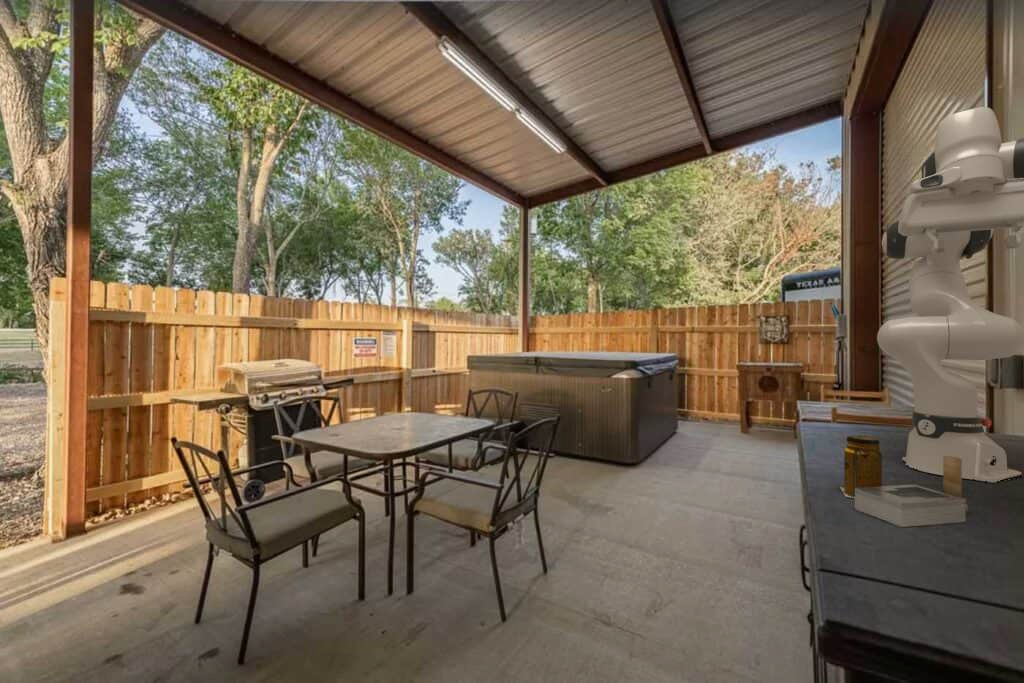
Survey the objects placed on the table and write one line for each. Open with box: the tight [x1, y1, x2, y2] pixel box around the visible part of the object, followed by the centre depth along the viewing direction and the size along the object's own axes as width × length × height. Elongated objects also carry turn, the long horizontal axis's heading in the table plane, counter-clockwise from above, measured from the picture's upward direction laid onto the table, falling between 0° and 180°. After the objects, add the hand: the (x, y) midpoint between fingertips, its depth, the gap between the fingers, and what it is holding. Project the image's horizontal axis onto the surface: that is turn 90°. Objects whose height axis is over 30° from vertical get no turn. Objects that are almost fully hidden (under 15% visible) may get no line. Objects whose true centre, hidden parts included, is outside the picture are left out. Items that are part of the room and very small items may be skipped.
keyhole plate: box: [854, 483, 966, 528], centre depth 77 cm, size 14×8×4 cm, turn 101°
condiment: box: [839, 435, 883, 499], centre depth 87 cm, size 7×8×12 cm
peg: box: [942, 456, 969, 516], centre depth 80 cm, size 4×4×10 cm
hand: (974, 249), depth 77 cm, fingers open, 8 cm apart
